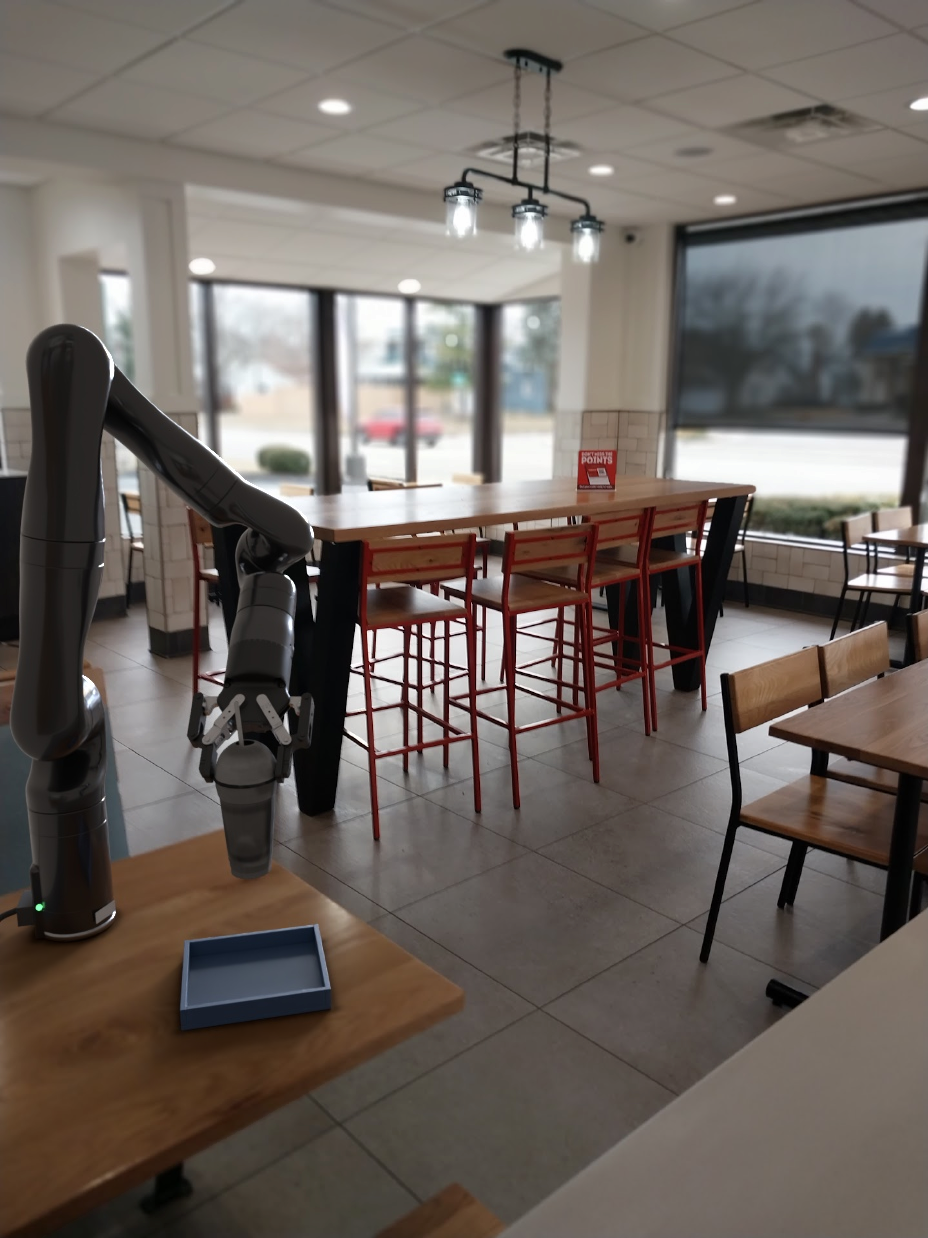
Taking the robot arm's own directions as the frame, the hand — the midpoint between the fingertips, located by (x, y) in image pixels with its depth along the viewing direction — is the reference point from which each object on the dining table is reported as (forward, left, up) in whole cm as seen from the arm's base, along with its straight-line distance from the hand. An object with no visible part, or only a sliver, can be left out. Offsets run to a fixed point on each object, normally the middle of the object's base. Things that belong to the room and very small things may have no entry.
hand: (243, 780), depth 105 cm
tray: (0, +1, -26) cm, 26 cm away
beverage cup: (0, +1, -12) cm, 12 cm away
